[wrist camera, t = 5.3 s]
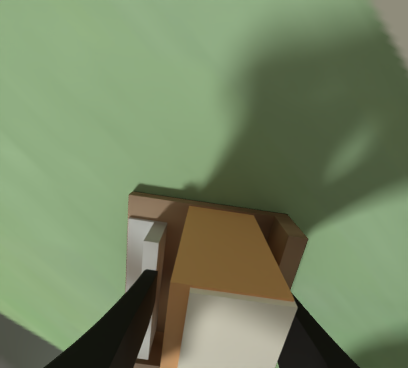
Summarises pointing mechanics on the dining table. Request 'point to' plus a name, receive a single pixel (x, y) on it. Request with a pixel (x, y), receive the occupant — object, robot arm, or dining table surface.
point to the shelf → (169, 244)
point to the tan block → (225, 296)
